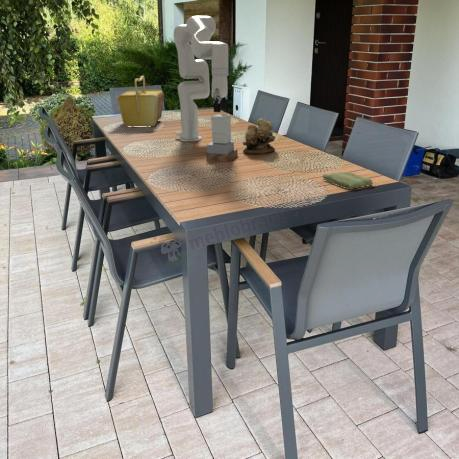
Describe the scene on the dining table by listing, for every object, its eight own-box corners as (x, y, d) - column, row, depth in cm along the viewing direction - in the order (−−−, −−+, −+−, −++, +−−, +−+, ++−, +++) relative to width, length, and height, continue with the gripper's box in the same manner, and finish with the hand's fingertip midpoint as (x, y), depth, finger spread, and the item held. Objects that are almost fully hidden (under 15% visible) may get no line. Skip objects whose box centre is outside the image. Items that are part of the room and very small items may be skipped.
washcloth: (344, 175, 200) (345, 168, 199) (374, 187, 186) (375, 179, 185) (319, 180, 195) (320, 172, 193) (348, 192, 180) (349, 184, 179)
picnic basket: (159, 128, 302) (156, 78, 290) (119, 128, 303) (114, 79, 291) (165, 120, 329) (162, 74, 317) (128, 120, 330) (124, 75, 318)
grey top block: (207, 153, 225) (207, 144, 223) (214, 148, 233) (214, 140, 232) (227, 154, 222) (227, 146, 220) (233, 149, 230) (233, 141, 229)
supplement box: (231, 141, 229) (231, 114, 224) (226, 144, 222) (225, 116, 218) (217, 140, 231) (216, 114, 227) (211, 143, 225) (210, 116, 220)
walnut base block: (206, 161, 226) (206, 153, 224) (214, 155, 237) (214, 147, 235) (230, 163, 223) (230, 154, 221) (237, 157, 233) (237, 148, 232)
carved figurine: (268, 147, 249) (269, 114, 242) (281, 152, 239) (282, 118, 232) (238, 151, 241) (238, 117, 235) (249, 156, 232) (250, 121, 225)
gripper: (218, 70, 224) (218, 107, 231) (205, 73, 209) (206, 113, 216) (233, 70, 222) (233, 107, 229) (221, 74, 207) (222, 113, 213)
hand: (220, 110), depth 222 cm, fingers open, 9 cm apart
